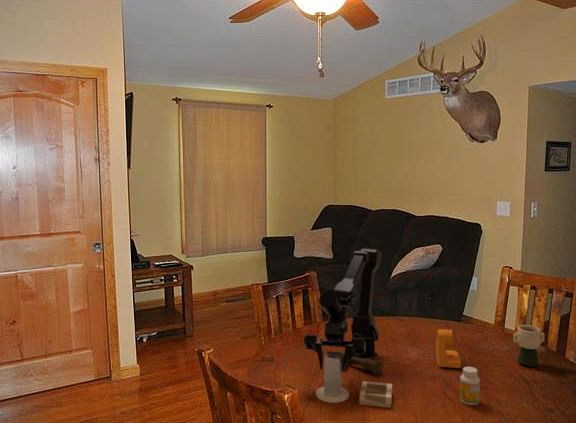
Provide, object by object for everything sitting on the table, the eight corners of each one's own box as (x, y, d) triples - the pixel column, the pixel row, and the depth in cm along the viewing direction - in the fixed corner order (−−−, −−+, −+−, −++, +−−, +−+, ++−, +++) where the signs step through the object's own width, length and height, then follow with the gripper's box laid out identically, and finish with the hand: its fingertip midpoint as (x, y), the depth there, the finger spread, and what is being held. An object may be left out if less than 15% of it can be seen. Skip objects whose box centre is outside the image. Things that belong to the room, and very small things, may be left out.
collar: (362, 390, 148) (362, 381, 148) (392, 393, 146) (392, 384, 146) (359, 404, 139) (359, 394, 139) (390, 407, 137) (391, 397, 137)
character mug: (537, 360, 170) (538, 324, 169) (549, 368, 163) (550, 331, 161) (507, 360, 169) (508, 325, 168) (517, 369, 162) (519, 332, 161)
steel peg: (326, 388, 148) (327, 351, 146) (341, 390, 147) (342, 352, 145) (324, 395, 144) (324, 357, 142) (338, 397, 142) (339, 359, 141)
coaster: (309, 392, 147) (309, 390, 147) (335, 384, 152) (335, 383, 152) (329, 406, 138) (329, 404, 138) (355, 397, 144) (355, 395, 144)
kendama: (371, 381, 156) (322, 363, 169) (386, 372, 163) (338, 356, 176) (372, 363, 155) (323, 347, 168) (387, 355, 163) (339, 340, 176)
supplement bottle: (456, 397, 143) (457, 365, 142) (473, 396, 143) (474, 365, 143) (464, 406, 138) (465, 373, 137) (482, 405, 138) (483, 372, 137)
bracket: (461, 370, 162) (462, 336, 161) (439, 368, 163) (439, 334, 162) (456, 358, 173) (457, 325, 172) (435, 356, 174) (436, 324, 173)
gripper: (304, 309, 149) (296, 356, 140) (364, 312, 145) (361, 362, 135) (310, 325, 157) (303, 371, 148) (367, 329, 153) (363, 377, 143)
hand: (331, 370), depth 143 cm, fingers open, 6 cm apart
